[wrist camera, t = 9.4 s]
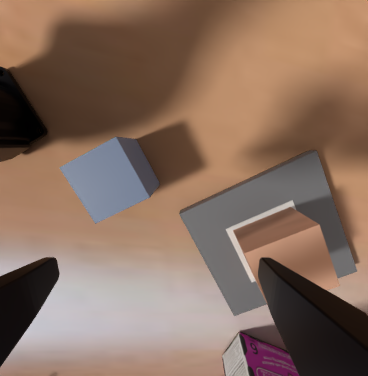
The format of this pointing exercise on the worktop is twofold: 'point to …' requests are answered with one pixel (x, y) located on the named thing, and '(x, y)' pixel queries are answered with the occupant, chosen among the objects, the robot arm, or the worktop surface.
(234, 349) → the candy bar box
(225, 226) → the board
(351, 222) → the worktop surface
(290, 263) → the terracotta block
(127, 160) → the blue cube
